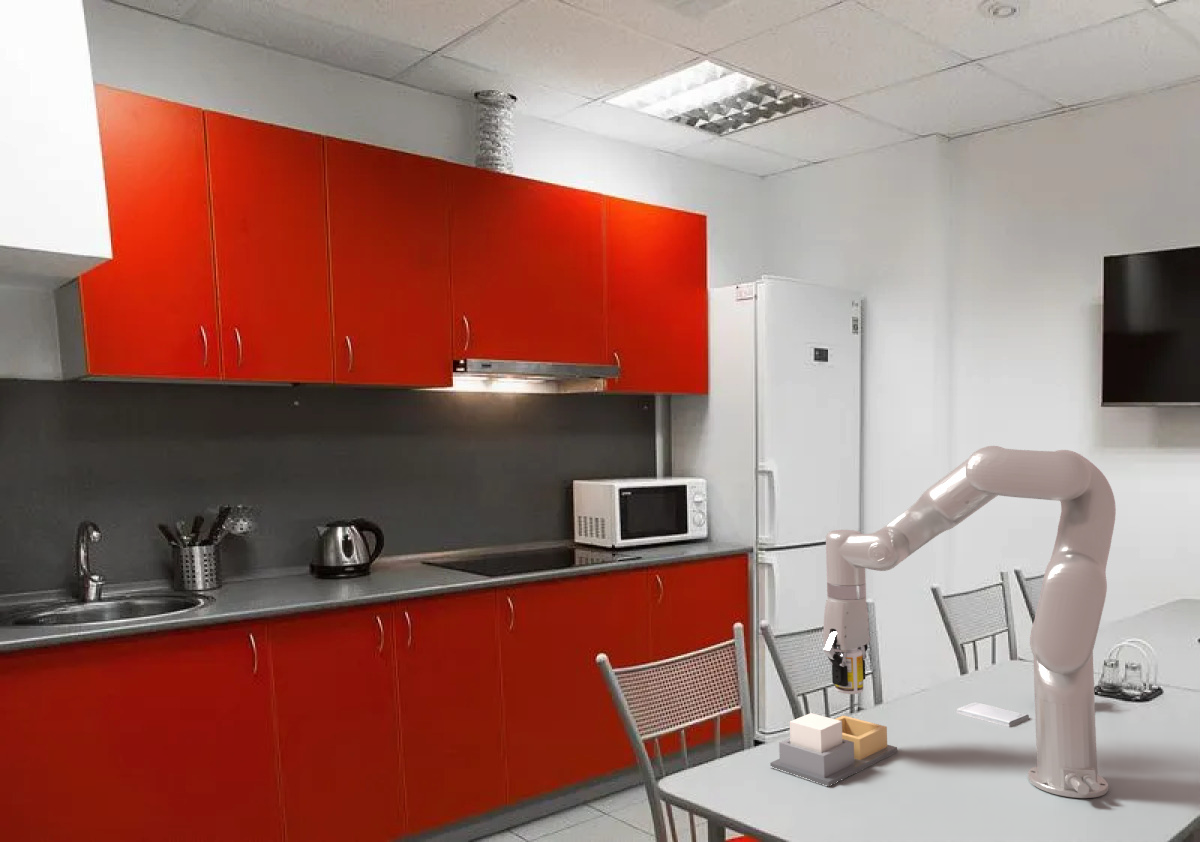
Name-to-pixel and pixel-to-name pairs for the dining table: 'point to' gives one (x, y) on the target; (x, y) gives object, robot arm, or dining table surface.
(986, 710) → the hard drive
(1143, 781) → the dining table surface
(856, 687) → the supplement bottle
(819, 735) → the block sorting tray
